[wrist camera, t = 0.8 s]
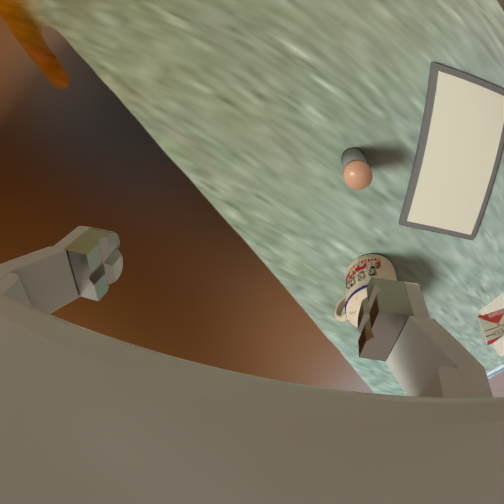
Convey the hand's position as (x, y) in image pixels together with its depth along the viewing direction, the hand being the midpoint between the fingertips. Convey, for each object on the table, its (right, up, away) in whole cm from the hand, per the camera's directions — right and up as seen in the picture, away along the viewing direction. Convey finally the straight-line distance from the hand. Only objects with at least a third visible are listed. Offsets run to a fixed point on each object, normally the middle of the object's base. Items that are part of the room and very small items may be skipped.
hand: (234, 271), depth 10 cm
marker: (+15, +14, +33) cm, 38 cm away
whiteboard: (+31, +14, +28) cm, 44 cm away
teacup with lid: (+20, -4, +43) cm, 47 cm away
